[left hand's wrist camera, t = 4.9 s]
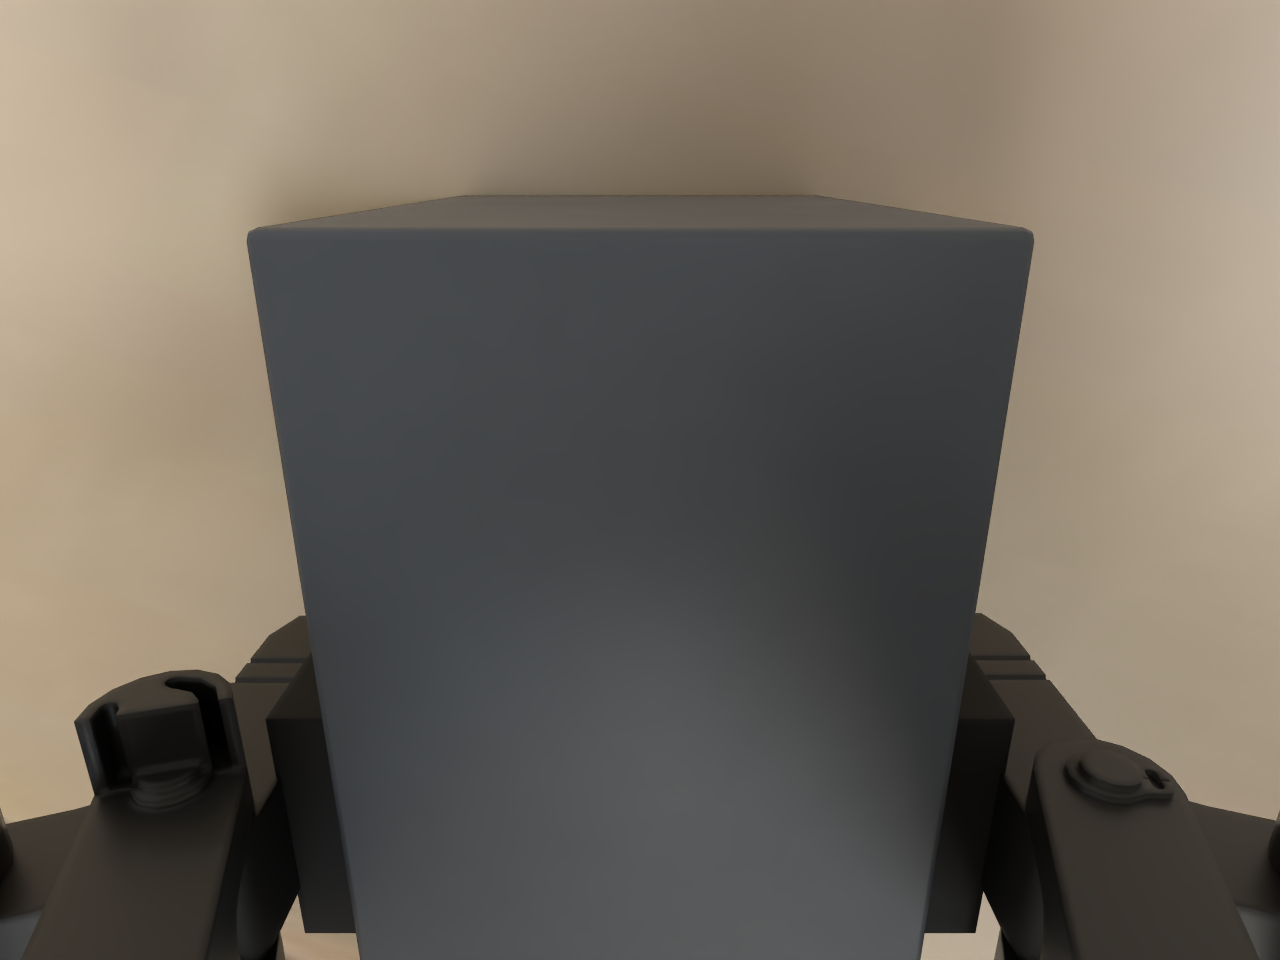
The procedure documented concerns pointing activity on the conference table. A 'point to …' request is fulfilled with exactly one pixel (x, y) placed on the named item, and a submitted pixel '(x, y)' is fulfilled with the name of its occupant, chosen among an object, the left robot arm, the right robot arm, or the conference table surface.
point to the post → (640, 560)
